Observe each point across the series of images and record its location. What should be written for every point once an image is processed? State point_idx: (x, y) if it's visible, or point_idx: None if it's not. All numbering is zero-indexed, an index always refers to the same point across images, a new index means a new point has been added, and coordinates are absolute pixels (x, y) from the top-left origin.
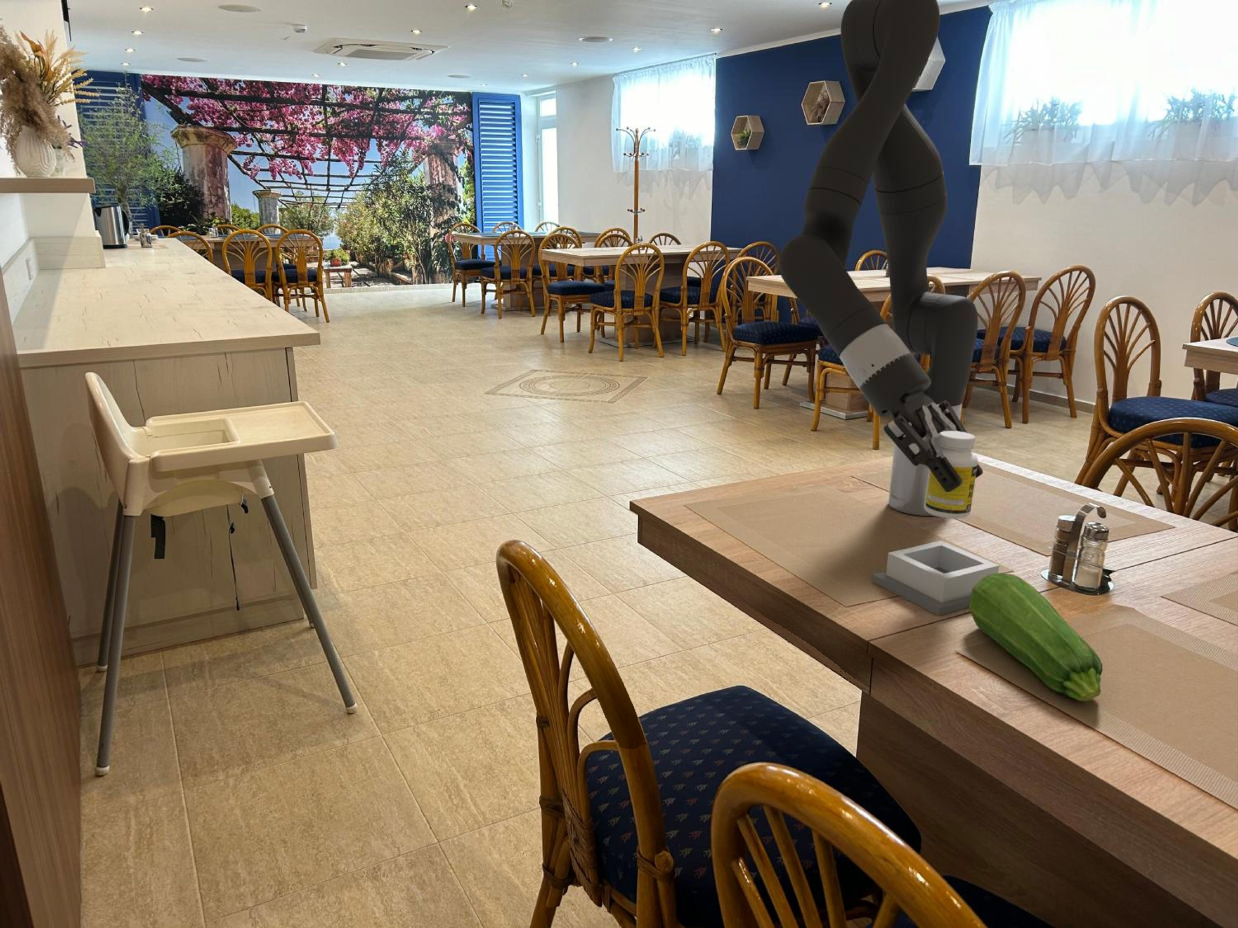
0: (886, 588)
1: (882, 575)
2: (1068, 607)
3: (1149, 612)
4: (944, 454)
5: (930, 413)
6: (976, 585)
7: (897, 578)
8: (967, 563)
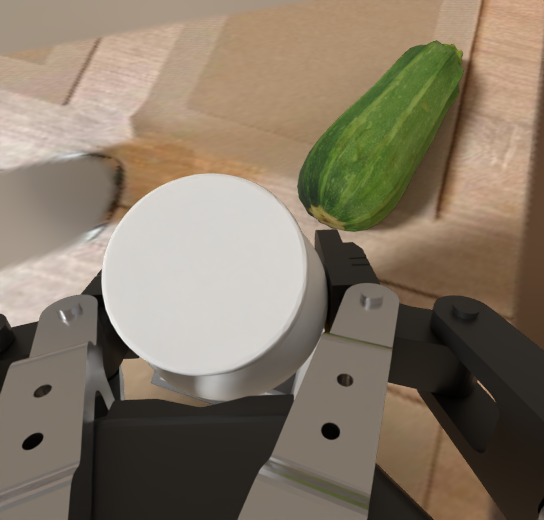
0: None
1: None
2: (187, 171)
3: (131, 100)
4: (307, 301)
5: (242, 511)
6: (374, 208)
7: None
8: None
